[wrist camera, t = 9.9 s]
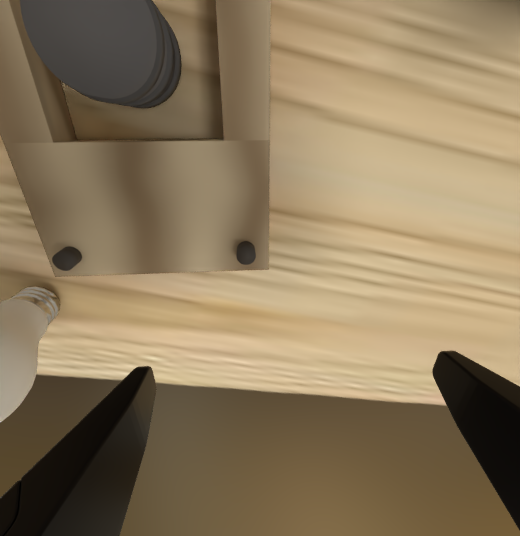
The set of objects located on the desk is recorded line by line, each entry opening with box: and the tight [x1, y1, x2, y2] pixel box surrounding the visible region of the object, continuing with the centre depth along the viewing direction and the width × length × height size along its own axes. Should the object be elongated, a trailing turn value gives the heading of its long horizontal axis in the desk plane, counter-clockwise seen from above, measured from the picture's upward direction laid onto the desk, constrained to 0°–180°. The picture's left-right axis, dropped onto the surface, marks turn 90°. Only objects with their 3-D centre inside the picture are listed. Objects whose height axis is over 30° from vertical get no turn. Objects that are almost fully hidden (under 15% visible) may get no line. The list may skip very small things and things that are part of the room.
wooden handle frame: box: [0, 0, 271, 277], centre depth 15 cm, size 14×16×4 cm
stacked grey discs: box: [20, 0, 181, 108], centre depth 13 cm, size 5×5×6 cm
